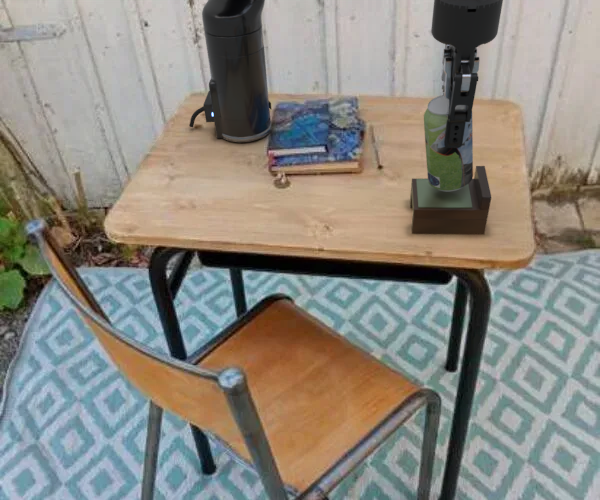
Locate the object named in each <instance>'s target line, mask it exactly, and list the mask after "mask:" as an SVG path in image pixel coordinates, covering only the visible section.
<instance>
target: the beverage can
mask: <svg viewBox="0 0 600 500" xmlns="http://www.w3.org/2000/svg"><path fill="white" fill-rule="evenodd" d="M447 107H448V100H447V99H446V98H445V97H444V95H443V94H442V95H439V96H436V97H434V98H432V99H431V100H430V101H428V103H427V107H426V109H425V111H424V114H423V129H424V143H425V145H424V146H425V156H426V157H425V159H426V171H427V172H426V173H427V174H426V175H427V179H428V182H429V184H430V185H431V186H432V187H434V188H436V189H438V190H441V191H446V192H450V191H456V190H459V189H461V188H463V187H464V186H466V185H467V184H468V183H469V182H470V181H471V180H472V179H474V153H473V152H474V151H473V149H474V148H473V147H474V145H473V140H474V139H473V138H474V137H473V116H472V117H471V119H470V122H466V123H465V130H464V136H463V143H462V146H461V147H460V148H446V147H445V145H444V139H445V131H446V123H447V117H446V113H447ZM455 109H464V105H457V106H456V107H455ZM471 114H472V115H473V112H472V113H471Z"/></svg>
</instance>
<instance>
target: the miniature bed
mask: <svg viewBox="0 0 600 500" xmlns="http://www.w3.org/2000/svg"><path fill="white" fill-rule="evenodd" d="M488 179H489V178H488V175H487V170H486V166H485V165H476V166H475V171H474V175H473V178H472V180H471V181H470V182H469V183H468V184H467V185H466V186H464V187H463V188H461V189H459V190H456V191H450V192H446V191H441V190H438V189H436V188H434V187H432V186H431V185H430V184H429V182H428V178H411V185H410V194H409V195H410V196H409V208H410V209H412V216H411V234H412V235H485V232H486V227H487V223H488V218H489V211H490V207H491V201H492V193H491V188H490V183H489V180H488Z"/></svg>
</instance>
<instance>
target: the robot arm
mask: <svg viewBox="0 0 600 500" xmlns="http://www.w3.org/2000/svg"><path fill="white" fill-rule="evenodd" d="M265 2H266V0H207V1H206V3H205V4H204V6H203V8H202V11H201V18H202V27H203V31H204V39H205V45H206V46H205V47H206V51H207V59H208V66H209V73H210V79H209V81H208V89H209V90H208V92H207V95H206V97H205V100H204V101H203V106H202V107H199V108H198V109H196V110H195V111H194V112H193V113H192V115H191V117H190V120H189V124H188V125H189V127H190V128H194V125H195V121H196V118H197V117H198V116H199V115H200V114H201V113H203V112H204V117H205V123H214V129H215V137H216V138H217V139H223V140H225V141H228V142H233V143H250V142H251V143H252V142H255V141H258V140H260V139H263V138H265V137H267V136H268V135H269V134H270V133H271V131H272V127H273V126H272V119H271V110H272V103H271V101H270V99H269V88H268V87H269V86H268V74H267V63H266V62H267V61H266V52H265V41H264V28H263V10H264V7H265ZM503 2H504V0H433V7H432V8H433V9H432V10H433V11H432V18H431V29H430V30H431V31H430V33H431V35H432V37H433V38H434V39H435V41H437V42H438V43H441V44H443V45H444V48H443V49H442V55H441V59H442V66H441V67H442V68H441V72H440V73H441V75H440V76H441V78H440V79H441V81H442V85H441V90H442V93H443V94H442V95H444V97H445V98H446V99H447V100H448V107H447V113H446V117H447V123H446V131H445V139H444V145H445V147H446V148H460V147H461V146H462V143H463V136H464V130H465V123H466V122H470V119H471V117H472V118H473V109H474V108H473V107H474V101H475V96H476V90H477V86H478V82H479V74H478V72H479V70H480V56H478V47H480V46H483V45H486V44H489V43H490V42H492V41H493V40H494V39H496V37H497V36H498V31H499V26H500V21H501V20H500V19H501V16H502V15H501V14H502V8H503ZM457 105H464V109H455V107H456V106H457ZM471 113H472V114H471Z"/></svg>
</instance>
